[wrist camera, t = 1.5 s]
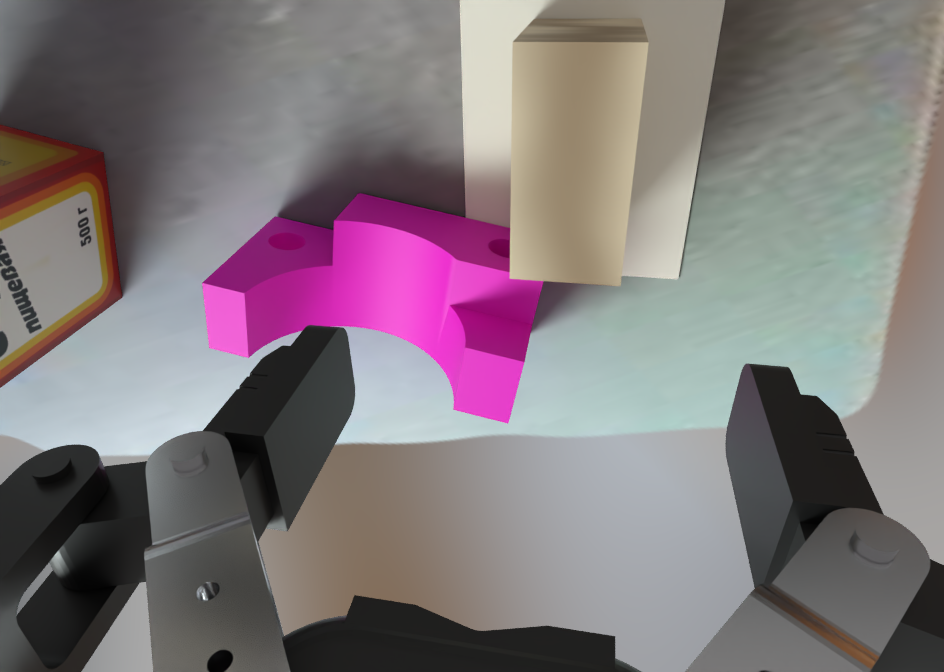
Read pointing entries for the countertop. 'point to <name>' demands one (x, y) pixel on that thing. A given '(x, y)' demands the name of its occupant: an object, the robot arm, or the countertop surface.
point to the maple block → (574, 147)
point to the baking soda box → (51, 245)
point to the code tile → (661, 120)
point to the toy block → (386, 292)
